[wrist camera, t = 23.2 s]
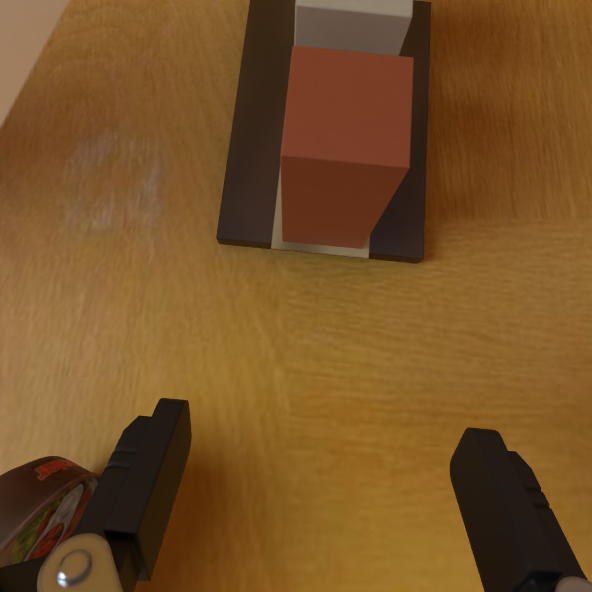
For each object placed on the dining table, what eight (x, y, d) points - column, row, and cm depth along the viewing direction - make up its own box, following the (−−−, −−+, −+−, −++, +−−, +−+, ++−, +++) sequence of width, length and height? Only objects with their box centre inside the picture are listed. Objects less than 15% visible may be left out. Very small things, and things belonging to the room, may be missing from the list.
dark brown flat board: (218, 248, 24) (214, 242, 23) (253, -3, 28) (252, -19, 26) (417, 268, 24) (424, 263, 23) (426, 14, 28) (431, 0, 27)
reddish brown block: (362, 249, 23) (411, 168, 14) (281, 241, 23) (278, 155, 14) (367, 176, 24) (415, 57, 15) (288, 168, 24) (291, 44, 15)
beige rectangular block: (290, 140, 24) (293, 4, 15) (297, 75, 25) (304, -89, 16) (367, 147, 24) (414, 16, 15) (371, 82, 25) (418, -76, 16)
